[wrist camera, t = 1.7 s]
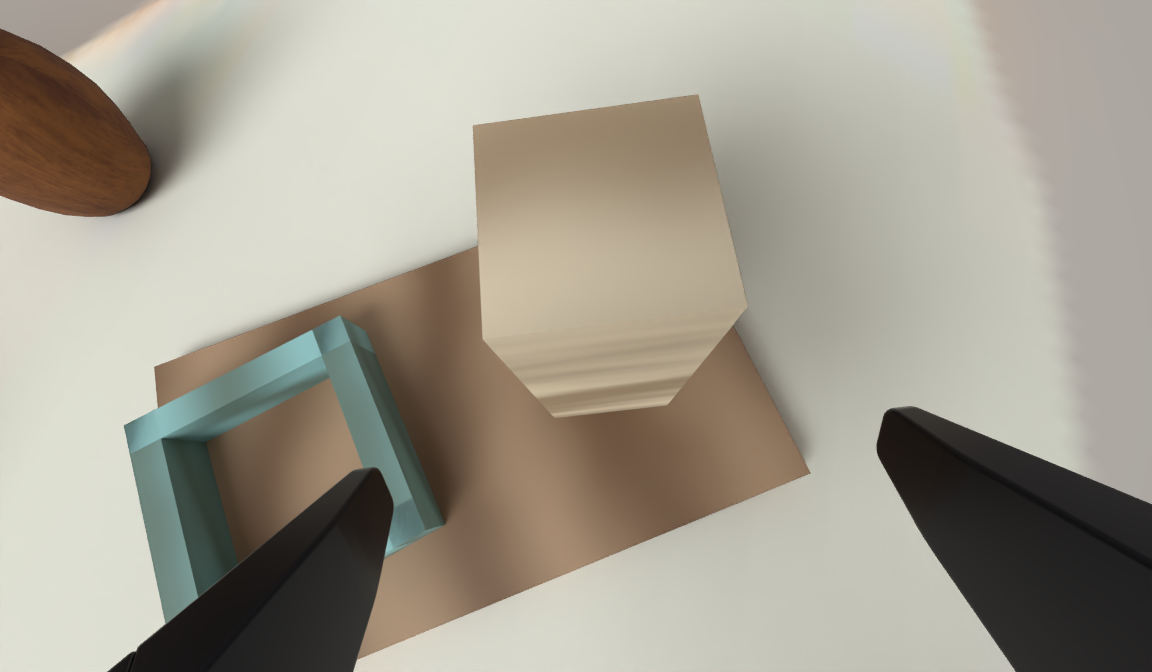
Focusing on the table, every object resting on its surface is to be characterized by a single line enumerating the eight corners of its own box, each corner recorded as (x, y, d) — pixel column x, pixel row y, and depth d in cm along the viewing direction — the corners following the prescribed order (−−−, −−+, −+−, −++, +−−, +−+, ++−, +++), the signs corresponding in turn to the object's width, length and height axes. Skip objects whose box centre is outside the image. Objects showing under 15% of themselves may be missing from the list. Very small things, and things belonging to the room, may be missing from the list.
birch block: (666, 405, 18) (747, 307, 8) (554, 418, 18) (482, 338, 8) (649, 300, 19) (698, 94, 9) (545, 313, 20) (472, 125, 9)
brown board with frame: (654, 192, 22) (661, 150, 19) (799, 473, 18) (836, 472, 15) (174, 371, 21) (106, 355, 18) (210, 715, 17) (128, 764, 14)
